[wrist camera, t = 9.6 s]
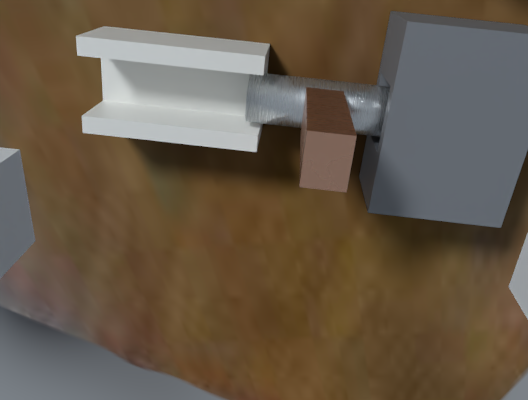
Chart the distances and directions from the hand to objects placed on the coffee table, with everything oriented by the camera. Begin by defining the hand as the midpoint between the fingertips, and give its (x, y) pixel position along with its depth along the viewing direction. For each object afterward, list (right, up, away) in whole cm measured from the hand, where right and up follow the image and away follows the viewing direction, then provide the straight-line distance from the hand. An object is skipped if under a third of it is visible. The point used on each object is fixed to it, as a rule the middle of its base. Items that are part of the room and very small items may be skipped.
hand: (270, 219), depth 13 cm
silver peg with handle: (+7, +7, +23) cm, 25 cm away
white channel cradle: (-6, +10, +24) cm, 27 cm away
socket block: (+12, +7, +24) cm, 28 cm away
